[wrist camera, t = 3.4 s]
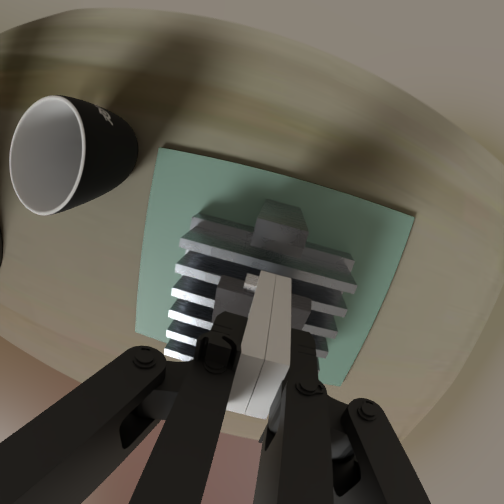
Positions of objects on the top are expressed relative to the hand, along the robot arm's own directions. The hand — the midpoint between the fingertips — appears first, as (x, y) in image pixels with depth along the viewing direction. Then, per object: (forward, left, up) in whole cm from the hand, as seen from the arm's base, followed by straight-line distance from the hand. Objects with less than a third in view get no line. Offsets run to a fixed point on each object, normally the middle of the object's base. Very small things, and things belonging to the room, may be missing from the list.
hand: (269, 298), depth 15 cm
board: (0, -5, -13) cm, 13 cm away
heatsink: (0, -6, -12) cm, 13 cm away
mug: (-19, +4, -13) cm, 23 cm away
